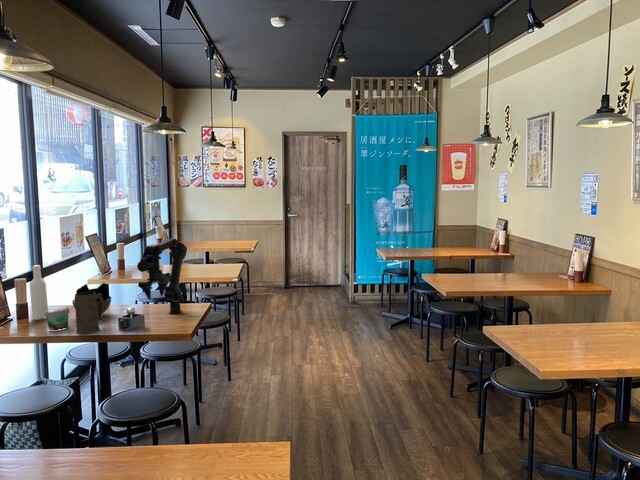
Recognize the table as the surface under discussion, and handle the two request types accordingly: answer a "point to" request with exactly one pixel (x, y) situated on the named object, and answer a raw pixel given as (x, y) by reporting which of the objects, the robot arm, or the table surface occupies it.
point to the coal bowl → (100, 289)
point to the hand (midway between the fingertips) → (155, 297)
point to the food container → (57, 319)
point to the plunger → (130, 311)
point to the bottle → (38, 294)
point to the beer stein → (88, 312)
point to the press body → (131, 322)
